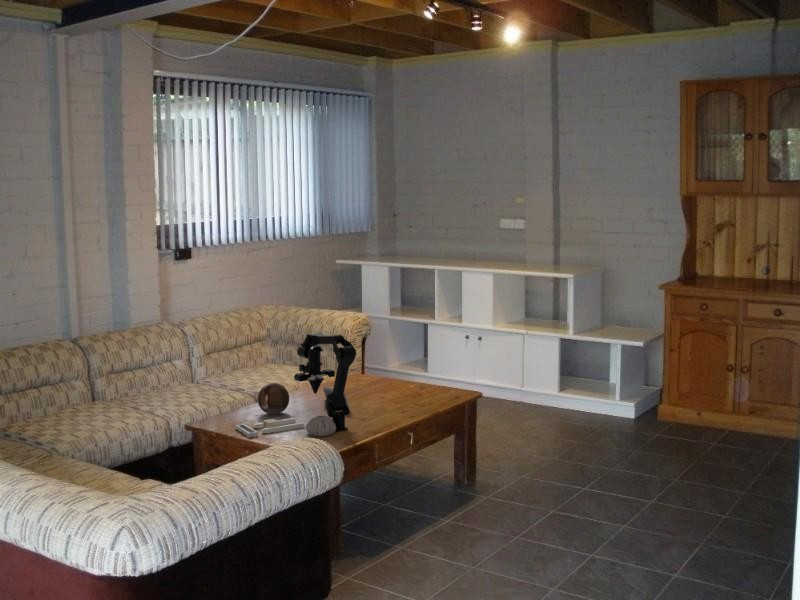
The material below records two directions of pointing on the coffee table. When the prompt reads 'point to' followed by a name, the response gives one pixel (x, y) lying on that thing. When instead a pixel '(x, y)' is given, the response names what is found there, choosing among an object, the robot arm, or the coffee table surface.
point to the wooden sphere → (273, 398)
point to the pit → (251, 432)
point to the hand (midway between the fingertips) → (315, 393)
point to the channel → (281, 428)
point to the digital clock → (328, 391)
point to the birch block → (270, 423)
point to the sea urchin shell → (321, 426)
